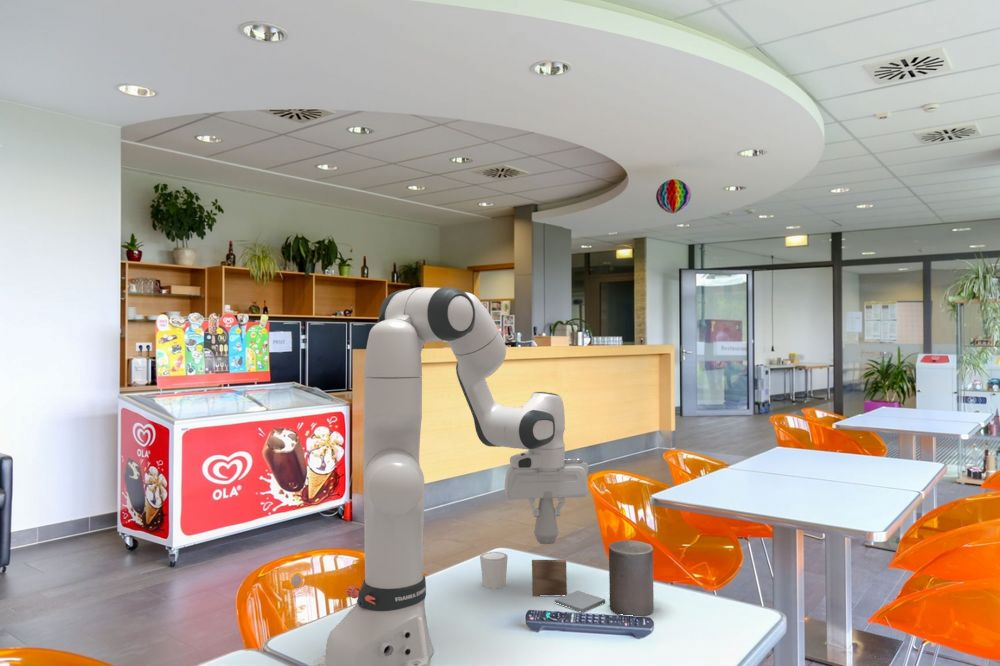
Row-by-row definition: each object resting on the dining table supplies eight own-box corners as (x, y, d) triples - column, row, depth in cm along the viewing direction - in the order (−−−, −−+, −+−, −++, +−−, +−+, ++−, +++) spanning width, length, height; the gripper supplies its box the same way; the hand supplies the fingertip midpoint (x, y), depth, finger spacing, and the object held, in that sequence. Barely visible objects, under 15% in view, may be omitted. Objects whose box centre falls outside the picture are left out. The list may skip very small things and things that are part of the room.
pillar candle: (601, 605, 153) (599, 538, 153) (636, 597, 157) (635, 532, 157) (626, 621, 144) (625, 550, 144) (663, 612, 148) (662, 543, 148)
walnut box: (566, 593, 160) (566, 559, 160) (566, 596, 158) (566, 561, 159) (532, 593, 160) (531, 559, 161) (532, 596, 159) (531, 561, 159)
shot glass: (482, 579, 171) (482, 551, 171) (509, 580, 170) (509, 551, 170) (478, 589, 164) (477, 559, 164) (506, 589, 163) (505, 560, 164)
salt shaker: (555, 546, 161) (555, 491, 162) (531, 544, 163) (531, 489, 163) (560, 539, 167) (560, 486, 167) (537, 537, 169) (537, 484, 169)
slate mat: (582, 612, 148) (582, 609, 148) (554, 603, 154) (554, 599, 154) (605, 602, 154) (605, 599, 154) (577, 593, 160) (577, 590, 160)
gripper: (584, 456, 170) (584, 512, 170) (503, 457, 167) (503, 514, 167) (591, 460, 164) (591, 518, 163) (507, 461, 161) (506, 520, 161)
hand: (546, 516), depth 165 cm, fingers closed on salt shaker, 4 cm apart
